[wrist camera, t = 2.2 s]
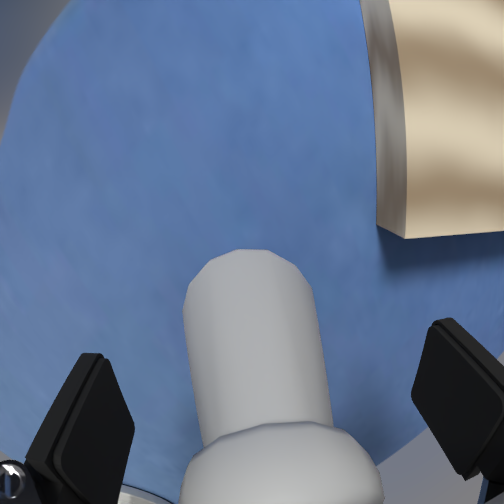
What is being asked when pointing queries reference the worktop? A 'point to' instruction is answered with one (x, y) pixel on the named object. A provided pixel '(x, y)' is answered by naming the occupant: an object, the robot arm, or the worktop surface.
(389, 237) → the worktop surface
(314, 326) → the salt shaker
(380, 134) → the plinth
